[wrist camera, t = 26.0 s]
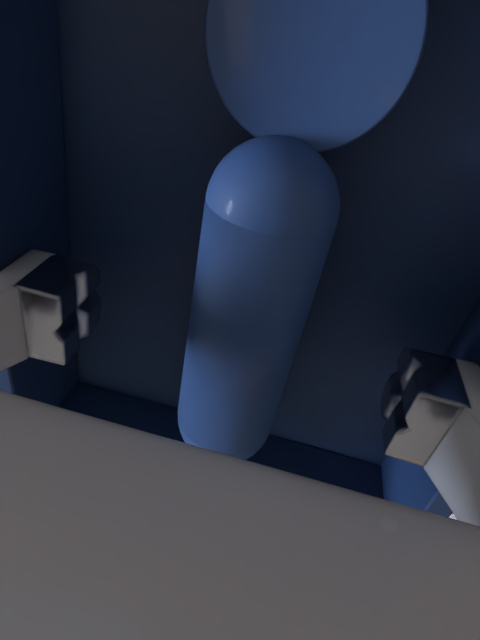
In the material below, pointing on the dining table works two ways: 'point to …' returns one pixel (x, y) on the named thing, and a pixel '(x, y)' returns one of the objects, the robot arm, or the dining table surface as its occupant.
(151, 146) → the blue bin
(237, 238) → the blue spoon
